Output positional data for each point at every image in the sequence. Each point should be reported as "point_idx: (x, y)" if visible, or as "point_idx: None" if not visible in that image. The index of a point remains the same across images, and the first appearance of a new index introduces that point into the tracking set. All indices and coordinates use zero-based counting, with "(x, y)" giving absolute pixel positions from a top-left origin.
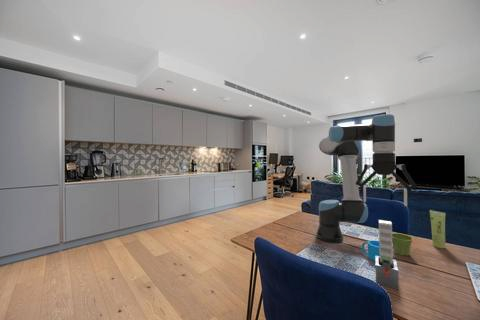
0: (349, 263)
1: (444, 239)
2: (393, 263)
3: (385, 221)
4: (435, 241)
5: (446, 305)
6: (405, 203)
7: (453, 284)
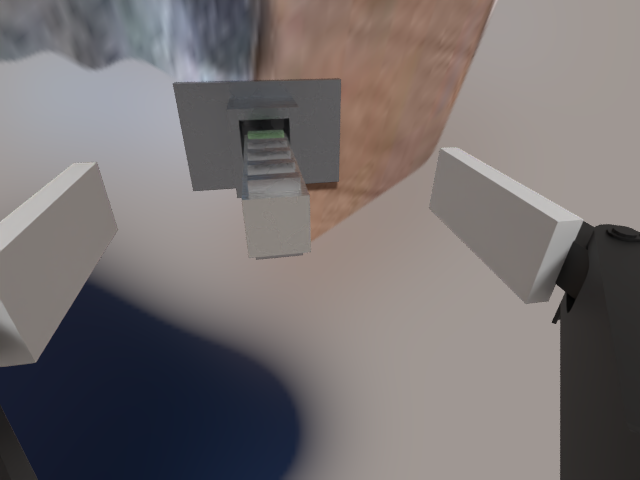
0: (122, 53)
1: None
2: (289, 136)
3: (280, 213)
4: None
5: (387, 156)
6: (444, 218)
7: (448, 5)
